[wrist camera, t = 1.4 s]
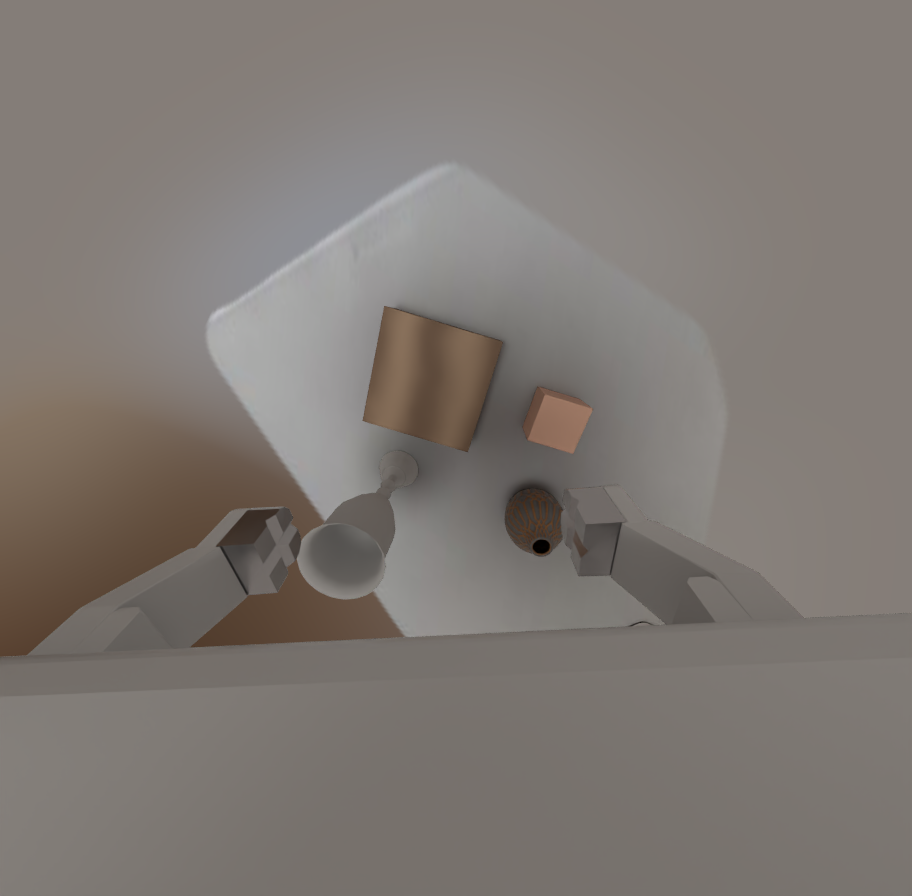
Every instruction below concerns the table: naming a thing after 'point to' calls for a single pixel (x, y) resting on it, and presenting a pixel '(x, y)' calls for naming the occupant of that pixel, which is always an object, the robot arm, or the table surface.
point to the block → (556, 420)
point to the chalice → (356, 536)
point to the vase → (534, 521)
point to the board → (429, 378)
